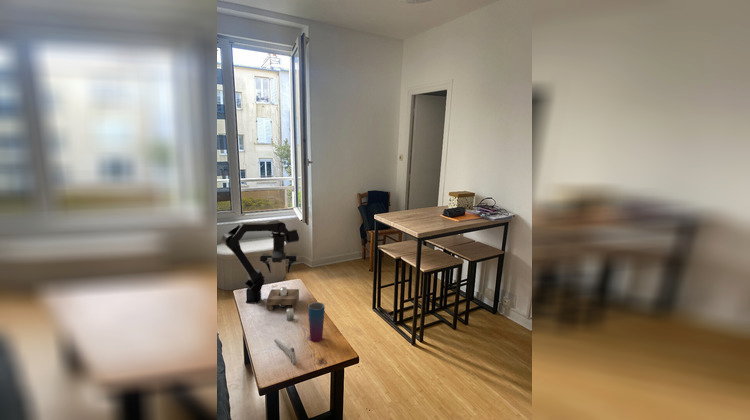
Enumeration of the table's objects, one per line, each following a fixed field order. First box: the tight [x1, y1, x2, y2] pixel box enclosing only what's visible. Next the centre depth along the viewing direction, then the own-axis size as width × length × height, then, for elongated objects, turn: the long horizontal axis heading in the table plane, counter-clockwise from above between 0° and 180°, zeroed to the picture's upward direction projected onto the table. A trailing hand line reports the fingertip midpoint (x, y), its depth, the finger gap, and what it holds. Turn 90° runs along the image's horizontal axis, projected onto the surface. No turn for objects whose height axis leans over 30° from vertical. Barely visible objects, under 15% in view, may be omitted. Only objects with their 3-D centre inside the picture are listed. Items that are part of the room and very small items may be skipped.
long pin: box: [279, 286, 288, 308], centre depth 185 cm, size 3×3×9 cm
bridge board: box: [266, 288, 300, 312], centre depth 186 cm, size 14×12×6 cm
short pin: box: [285, 307, 295, 322], centre depth 172 cm, size 3×3×5 cm
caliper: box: [273, 338, 297, 365], centre depth 145 cm, size 20×1×6 cm, turn 35°
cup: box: [307, 301, 326, 343], centre depth 155 cm, size 7×7×15 cm
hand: (279, 272), depth 197 cm, fingers open, 9 cm apart
